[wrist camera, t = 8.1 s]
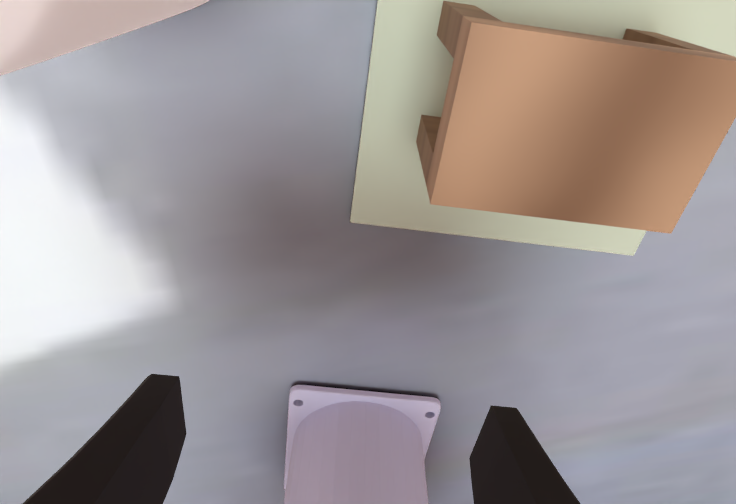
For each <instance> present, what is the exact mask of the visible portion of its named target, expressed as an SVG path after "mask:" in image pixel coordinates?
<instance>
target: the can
mask: <svg viewBox="0 0 736 504" xmlns="http://www.w3.org/2000/svg"><path fill="white" fill-rule="evenodd" d="M208 1H209V0H0V76H1V75H4V74H7V73H10V72H13V71H16V70H19V69H22V68H25V67H28V66H31V65H34V64H37V63H40V62H43V61H46V60H49V59H52V58H55V57H58V56H61V55H64V54H66V53H69V52H72V51H75V50H78V49H81V48H84V47H87V46H90V45H93V44H96V43H98V42H101V41H104V40H107V39H110V38H113V37H116V36H118V35H121V34H124V33H127V32H130V31H133V30H136V29H138V28H141V27H144V26H147V25H150V24H153V23H155V22H158V21H161V20H164V19H167V18H169V17H172V16H175V15H178V14H180V13H183V12H185V11H188V10H191V9H193V8H195V7H198V6H200V5H202V4H204V3H206V2H208Z"/></svg>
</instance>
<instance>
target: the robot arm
mask: <svg viewBox="0 0 736 504" xmlns="http://www.w3.org/2000/svg"><path fill="white" fill-rule="evenodd" d="M440 410H441V404H440V401H439V399H437V398H434V397H426V396H415V395H404V394H394V393H383V392H372V391H362V390H351V389H341V388H330V387H319V386H309V385H295V386H293V387H292V388H291V389H290V394H289V408H288V424H287V441H286V458H285V474H284V490H285V497H284V503H283V504H429V503H428V494H427V484H426V474H425V464H424V459H425V456H426V453H427V450H428V447H429V444H430V441H431V438H432V435H433V432H434V429H435V426H436V422H437V419H438V416H439V413H440ZM185 436H186V428H185V419H184V411H183V403H182V395H181V387H180V379H179V376H168V375H158V374H151V375H149V376H148V377H147V378H146V379H145V380H144V381H143V382H142V383H141V385H140V386H139V387H138V388H137V389H136V390H135V391H134V392H133V394H132V395H131V396H130V397H129V398H128V399H127V400H126V401H125V402H124V403H123V405H122V406H121V407H120V408H119V409H118V410H117V411H116V412H115V413H114V414H113V415H112V416H111V417H110V419H109V420H108V421H107V422H106V423H105V424H104V425H103V426H102V427H101V428H100V429H99V430H98V431H97V432H96V433H95V434H94V435H93V436H92V437H91V438H90V439H89V440H88V441H87V442H86V443H85V444H84V445H83V446H82V447H81V448H80V449H79V450H78V451H77V452H76V453H75V454H74V456H73V457H72V458H71V459H70V460H68V461H67V462H66V463H65V464H64V465H63V466H62V467H61V468H60V469H59V470H58V471H57V472H56V473H55V474H54V475H53V476H52V477H51V478H50V479H48V480H47V481H46V482H45V483H44V484H43V485H42V486H41V487H40V488H39V489H38V490H37V491H36V492H35V493H34V494H32V495H31V496H30V497H29V498H28V499H27V500H26V501H25V502H24V503H23V504H163V502H164V499H165V497H166V495H167V492H168V490H169V487H170V485H171V482H172V480H173V477H174V473H175V470H176V467H177V464H178V460H179V457H180V454H181V450H182V447H183V443H184V440H185ZM470 468H471V479H472V489H473V498H474V504H580V503H579V501H578V500H577V498H576V497H575V495H574V494H573V493H572V491H571V490H570V488H569V487H568V485H567V484H566V483H565V481H564V480H563V478H562V477H561V475H560V474H559V472H558V471H557V469H556V468H555V466H554V465H553V463H552V462H551V460H550V459H549V457H548V456H547V454H546V453H545V451H544V450H543V448H542V447H541V445H540V443H539V442H538V440H537V439H536V437H535V436H534V434H533V433H532V431H531V429H530V428H529V426H528V425H527V423H526V422H525V420H524V418H523V417H522V415H521V414H520V412H519V411H518V410H517V408H510V407H500V406H491V407H490V410H489V412H488V414H487V417H486V419H485V422H484V424H483V427H482V429H481V431H480V434H479V436H478V439H477V441H476V444H475V446H474V449H473V451H472V453H471V456H470Z"/></svg>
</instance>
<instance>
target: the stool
mask: <svg viewBox="0 0 736 504" xmlns="http://www.w3.org/2000/svg"><path fill="white" fill-rule="evenodd" d="M437 36H438V38H439V39H440V41H441V42H442V43H443V45H444V46H445V47H446V49H447V50H448V51H449V53H450V54H451V56H452V57H453V58H454V60H453V64H452V69H451V74H450V78H449V83H448V88H447V92H446V97H445V101H444V106H443V111H442V115H441V117H436V116H428V115H421V119H420V124H419V129H418V135H417V140H416V143H417V148H418V152H419V156H420V161H421V165H422V170H423V174H424V178H425V183H426V187H427V191H428V196H429V200H430V204H432V205H440V206H448V207H456V208H465V209H473V210H481V211H489V212H498V213H506V214H514V215H522V216H531V217H539V218H547V219H555V220H564V221H572V222H580V223H588V224H597V225H605V226H613V227H621V228H630V229H638V230H646V231H654V232H663V233H672V231H673V229H674V227H675V225H676V224H677V222H678V220H679V218H680V216H681V215H682V213H683V211H684V209H685V207H686V206H687V204H688V202H689V200H690V198H691V197H692V195H693V193H694V191H695V189H696V188H697V186H698V184H699V182H700V180H701V179H702V177H703V175H704V173H705V171H706V170H707V168H708V166H709V164H710V162H711V161H712V159H713V157H714V155H715V153H716V152H717V150H718V148H719V146H720V144H721V143H722V141H723V139H724V137H725V135H726V134H727V132H728V130H729V128H730V126H731V125H732V123H733V121H734V119H735V117H736V57H734V56H731V55H728V54H725V53H721V52H718V51H715V50H711V49H708V48H705V47H702V46H698V45H695V44H692V43H688V42H685V41H682V40H679V39H675V38H672V37H669V36H665V35H662V34H659V33H655V32H648V31H641V30H635V29H628V28H627V29H626V31H625V34H624V36H623V39H616V38H610V37H603V36H596V35H589V34H583V33H576V32H569V31H562V30H556V29H549V28H542V27H535V26H529V25H522V24H515V23H508V22H502V21H501V20H499V19H497V18H495V17H494V16H492V15H490V14H489V13H487V12H485V11H483V10H482V9H480V8H478V7H476V6H475V5H468V4H461V3H455V2H448V1H443V5H442V10H441V15H440V20H439V26H438V31H437Z"/></svg>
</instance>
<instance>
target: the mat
mask: <svg viewBox="0 0 736 504" xmlns="http://www.w3.org/2000/svg"><path fill="white" fill-rule="evenodd" d="M443 1H448V2H455V3H461V4H468V5H475V6H476V7H478V8H480V9H482V10H483V11H485V12H487V13H489V14H490V15H492V16H494V17H495V18H497V19H499V20H501V21H502V22H508V23H515V24H522V25H529V26H535V27H542V28H549V29H556V30H562V31H569V32H576V33H583V34H589V35H596V36H603V37H610V38H616V39H623V36H624V34H625V31H626V29H627V28H628V29H635V30H641V31H648V32H655V33H659V34H662V35H665V36H669V37H672V38H675V39H679V40H682V41H685V42H688V43H692V44H695V45H698V46H702V47H705V48H708V49H711V50H715V51H718V52H721V53H725V54H728V55H731V56H734V57H736V0H378V2H377V10H376V18H375V26H374V33H373V41H372V49H371V57H370V65H369V73H368V81H367V89H366V97H365V105H364V113H363V121H362V129H361V137H360V145H359V153H358V161H357V168H356V176H355V184H354V192H353V200H352V208H351V216H350V222H351V223H359V224H368V225H376V226H385V227H393V228H402V229H410V230H419V231H427V232H436V233H445V234H453V235H462V236H470V237H479V238H487V239H496V240H504V241H513V242H521V243H530V244H538V245H547V246H555V247H564V248H573V249H581V250H590V251H598V252H607V253H615V254H624V255H632V256H634V254H635V252H636V250H637V248H638V246H639V244H640V242H641V240H642V239H643V237H644V235H645V233H646V230H638V229H630V228H621V227H613V226H605V225H597V224H588V223H580V222H572V221H564V220H555V219H547V218H539V217H531V216H522V215H514V214H506V213H498V212H489V211H481V210H473V209H465V208H456V207H448V206H440V205H432V204H430V200H429V196H428V191H427V187H426V183H425V178H424V174H423V170H422V165H421V161H420V156H419V152H418V148H417V143H416V140H417V135H418V129H419V124H420V119H421V115H428V116H436V117H441V115H442V111H443V106H444V101H445V97H446V92H447V88H448V83H449V78H450V74H451V69H452V64H453V60H454V58H453V57H452V56H451V54H450V53H449V51H448V50H447V49H446V47H445V46H444V45H443V43H442V42H441V41H440V39H439V38H438V36H437V31H438V26H439V20H440V15H441V10H442V5H443Z"/></svg>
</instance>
